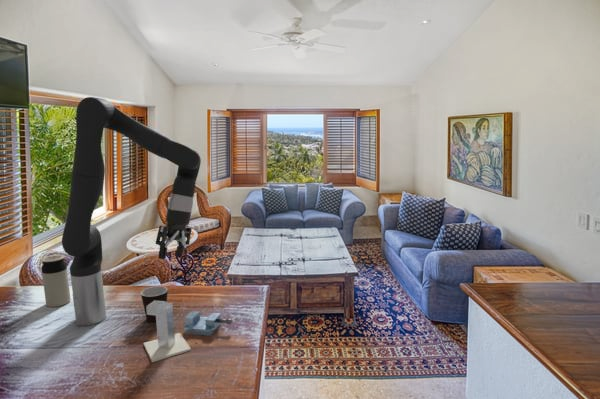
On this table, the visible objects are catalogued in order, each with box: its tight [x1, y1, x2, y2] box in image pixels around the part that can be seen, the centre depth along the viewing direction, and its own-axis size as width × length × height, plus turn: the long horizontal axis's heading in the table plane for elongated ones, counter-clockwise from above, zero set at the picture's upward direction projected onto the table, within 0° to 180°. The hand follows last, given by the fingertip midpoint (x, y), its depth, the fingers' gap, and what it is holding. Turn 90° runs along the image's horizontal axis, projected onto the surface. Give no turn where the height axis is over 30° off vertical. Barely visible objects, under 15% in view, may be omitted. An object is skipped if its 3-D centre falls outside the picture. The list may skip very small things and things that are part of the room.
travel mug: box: [40, 254, 72, 308], centre depth 148 cm, size 8×8×18 cm
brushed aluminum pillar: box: [146, 300, 176, 349], centre depth 115 cm, size 8×4×15 cm, turn 167°
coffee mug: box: [140, 285, 169, 324], centre depth 137 cm, size 12×9×10 cm
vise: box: [183, 310, 233, 337], centre depth 129 cm, size 8×15×4 cm, turn 78°
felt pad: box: [143, 332, 192, 363], centre depth 118 cm, size 11×11×1 cm
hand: (170, 258), depth 129 cm, fingers open, 8 cm apart
